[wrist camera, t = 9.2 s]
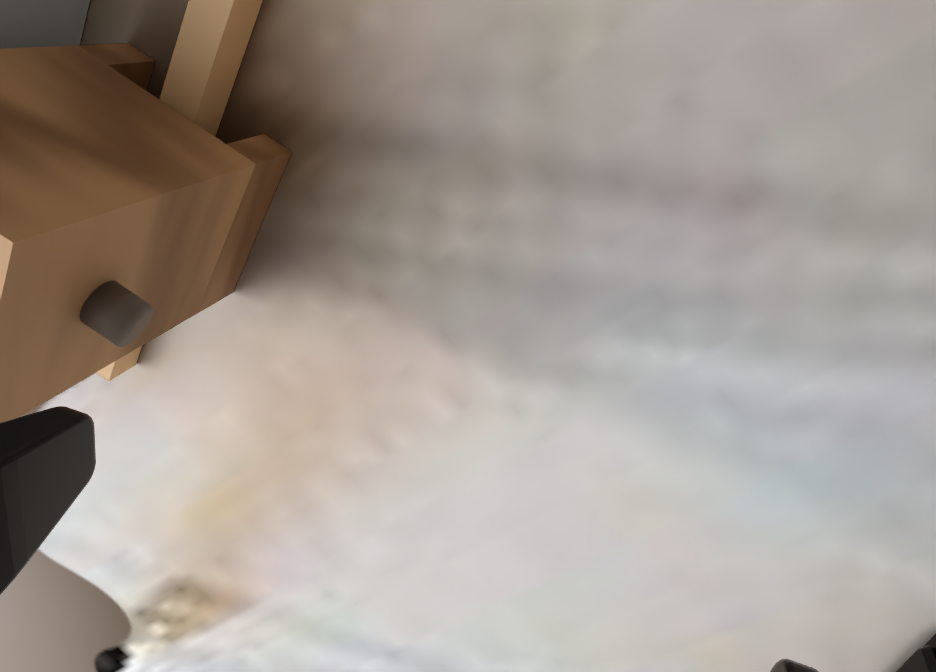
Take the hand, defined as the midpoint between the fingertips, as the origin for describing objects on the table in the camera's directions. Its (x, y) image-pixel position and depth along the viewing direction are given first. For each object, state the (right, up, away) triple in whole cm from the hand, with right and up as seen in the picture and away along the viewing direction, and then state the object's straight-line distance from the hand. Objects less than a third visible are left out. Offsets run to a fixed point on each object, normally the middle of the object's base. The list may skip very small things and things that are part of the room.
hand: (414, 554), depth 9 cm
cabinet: (-8, +8, +14) cm, 18 cm away
